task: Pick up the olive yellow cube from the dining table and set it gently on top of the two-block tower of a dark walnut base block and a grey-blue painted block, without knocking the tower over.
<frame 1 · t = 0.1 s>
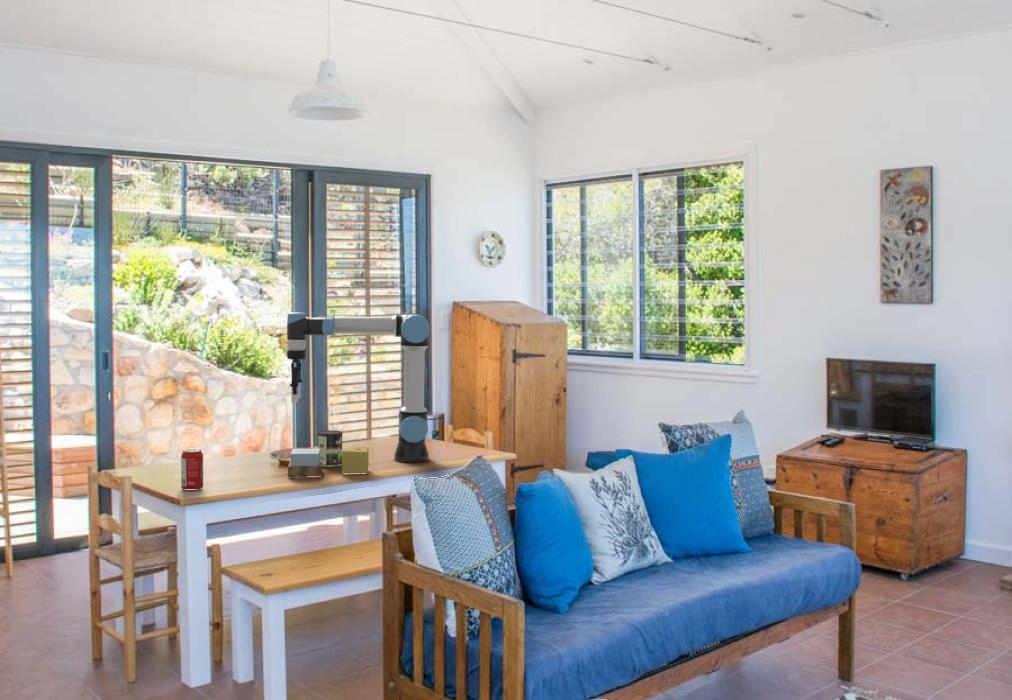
hand: (296, 400, 425), 28 cm above the table, tool pointing down, fingers open, 13 cm apart
tower base: (305, 475, 411), on the table, touching tower top
soda can: (192, 490, 380), on the table
tower top: (305, 463, 410), point 5 cm above the table, touching tower base
coffee can: (329, 465, 432), on the table
olive yellow cube: (355, 473, 416), on the table
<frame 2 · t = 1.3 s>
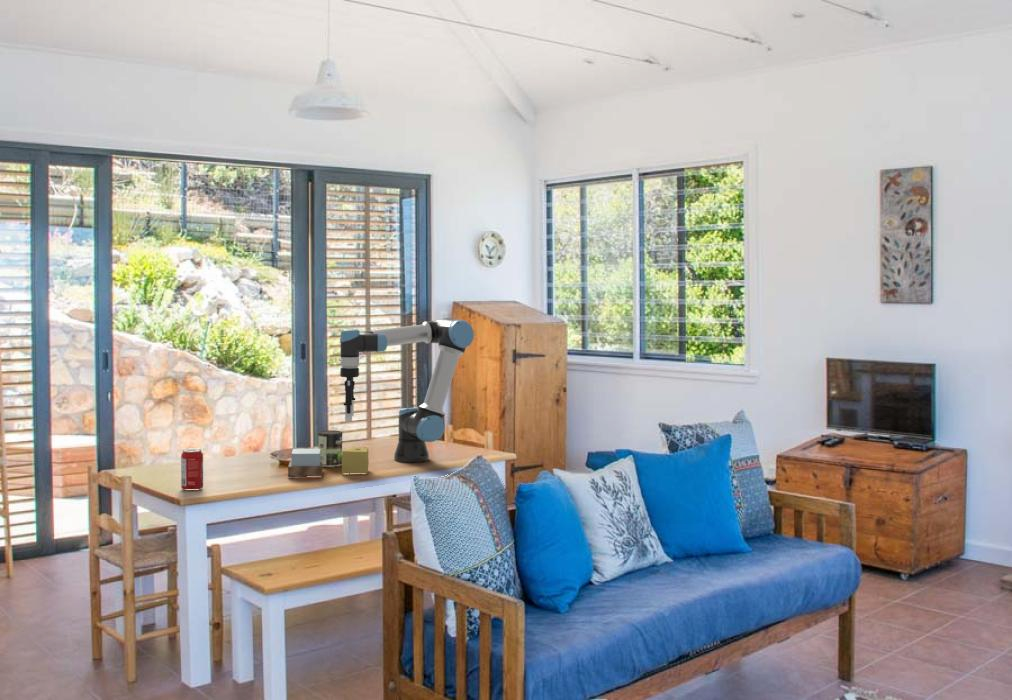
hand: (349, 418, 416), 22 cm above the table, tool pointing down, fingers open, 13 cm apart
nothing on the table moved.
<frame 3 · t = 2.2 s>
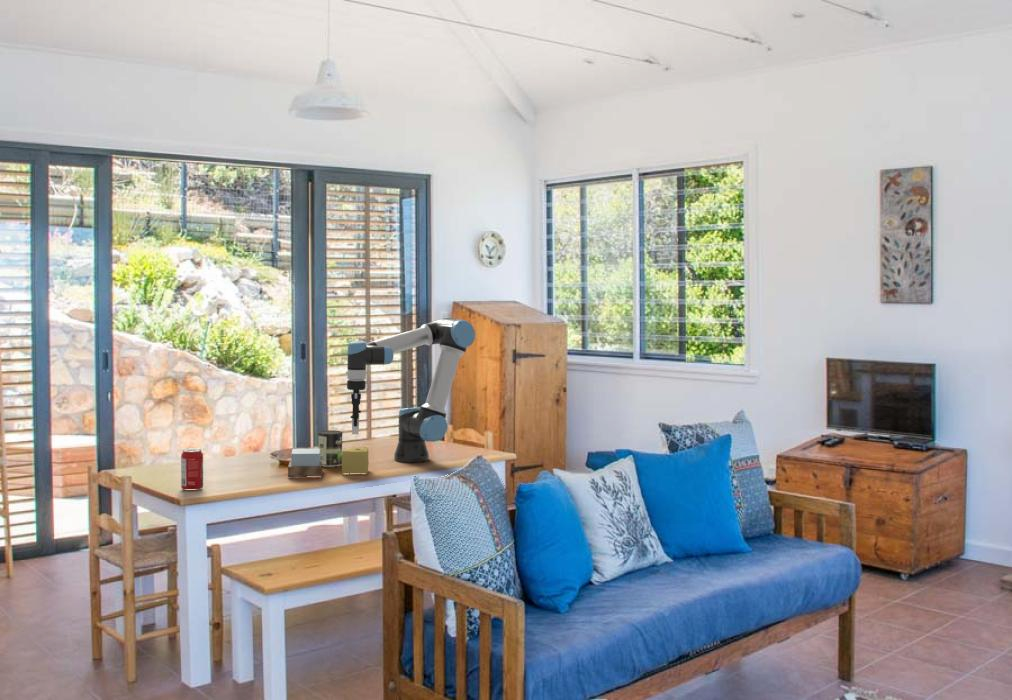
hand: (355, 431, 415), 17 cm above the table, tool pointing down, fingers open, 13 cm apart
tower base: (305, 475, 411), on the table
tower top: (305, 463, 411), point 5 cm above the table
everything else where it was.
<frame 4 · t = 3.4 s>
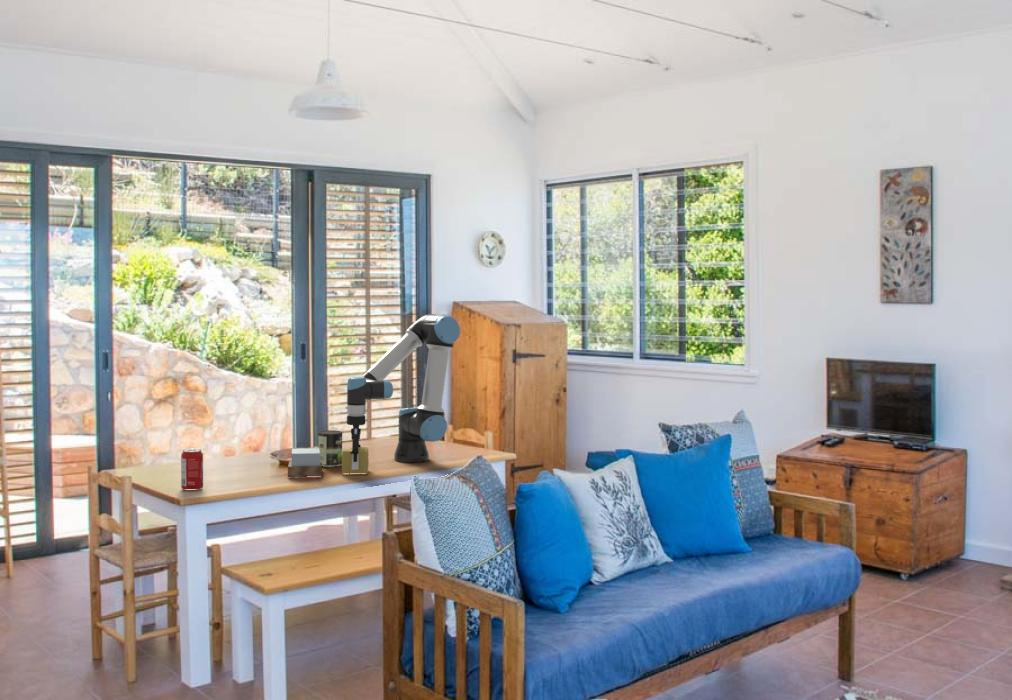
hand: (355, 466, 416), 3 cm above the table, tool pointing down, fingers open, 13 cm apart
nothing on the table moved.
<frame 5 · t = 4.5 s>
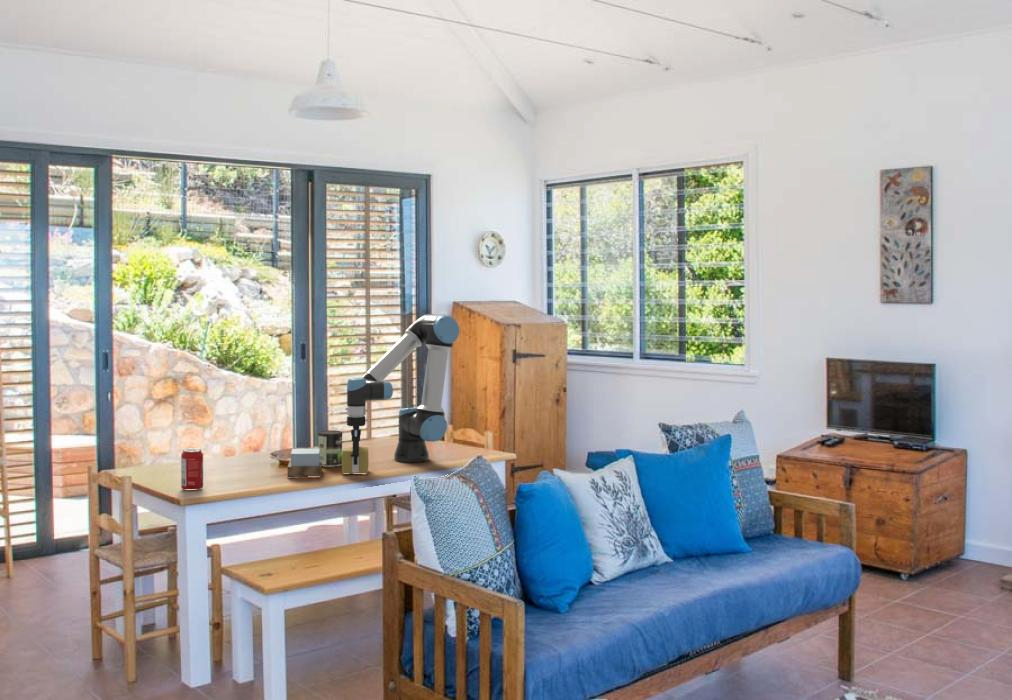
hand: (355, 469, 416), 1 cm above the table, tool pointing down, fingers closed on olive yellow cube, 10 cm apart
olive yellow cube: (355, 473, 416), on the table, touching gripper
everything else where it was.
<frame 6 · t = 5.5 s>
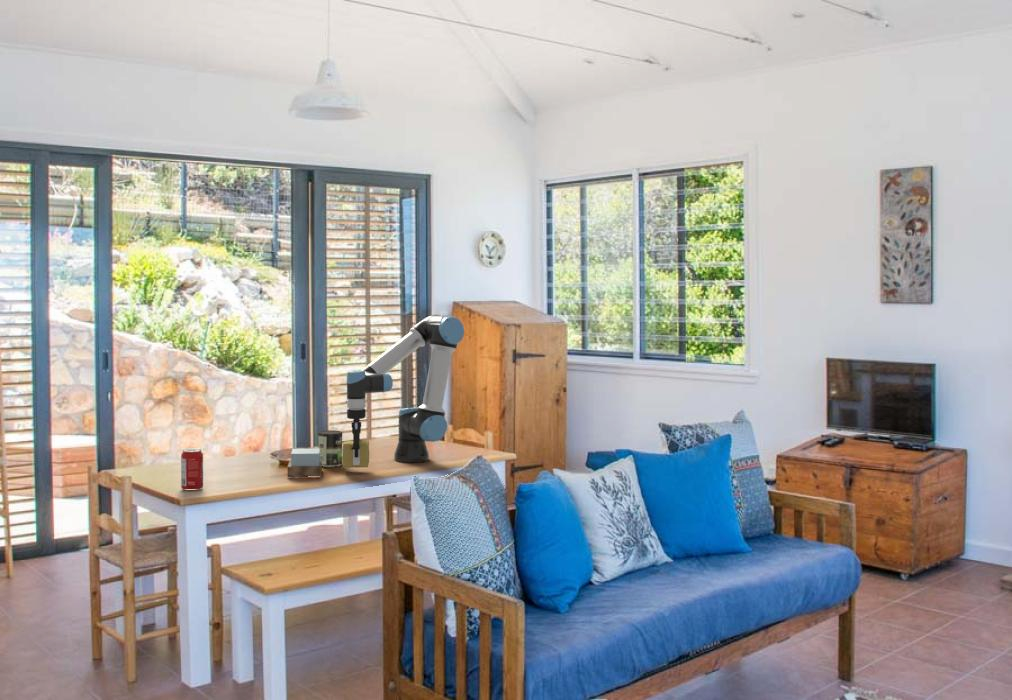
hand: (356, 462, 416), 4 cm above the table, tool pointing down, fingers closed on olive yellow cube, 10 cm apart
tower base: (304, 475, 411), on the table, touching tower top
tower top: (305, 463, 411), point 5 cm above the table, touching tower base
olive yellow cube: (356, 466, 416), point 3 cm above the table, touching gripper
everything else where it was.
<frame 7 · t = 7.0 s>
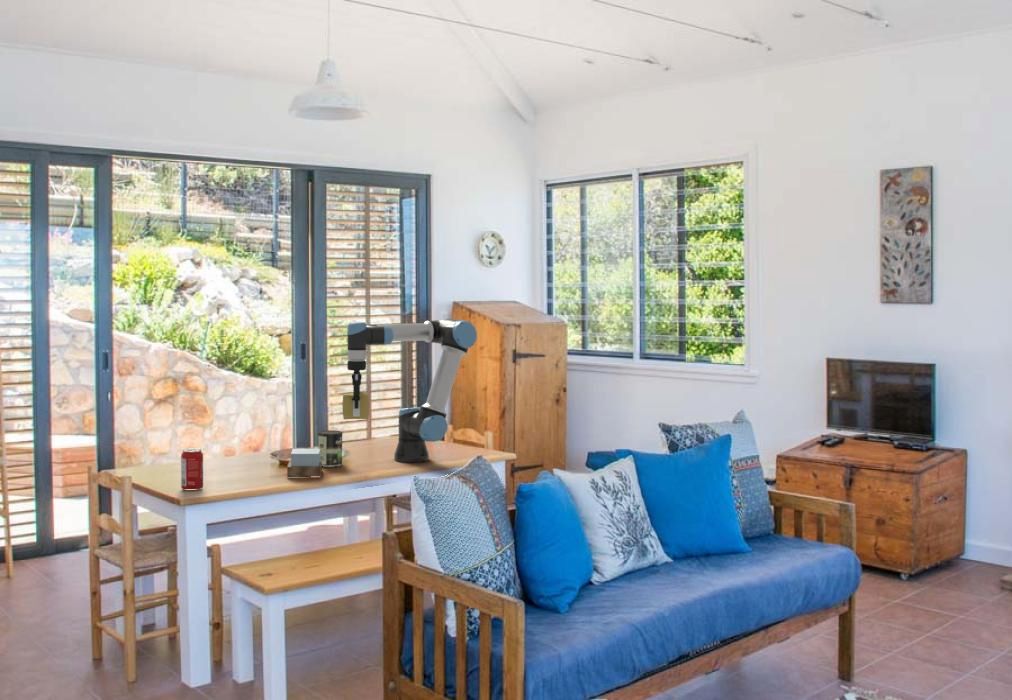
hand: (356, 414, 415), 24 cm above the table, tool pointing down, fingers closed on olive yellow cube, 10 cm apart
tower base: (304, 475, 411), on the table
tower top: (305, 463, 410), point 5 cm above the table
olive yellow cube: (356, 418, 415), point 23 cm above the table, touching gripper
everything else where it was.
when the fingers open (13 cm above the table, at t = 11.5 s): olive yellow cube drops 2 cm, resting on tower top.
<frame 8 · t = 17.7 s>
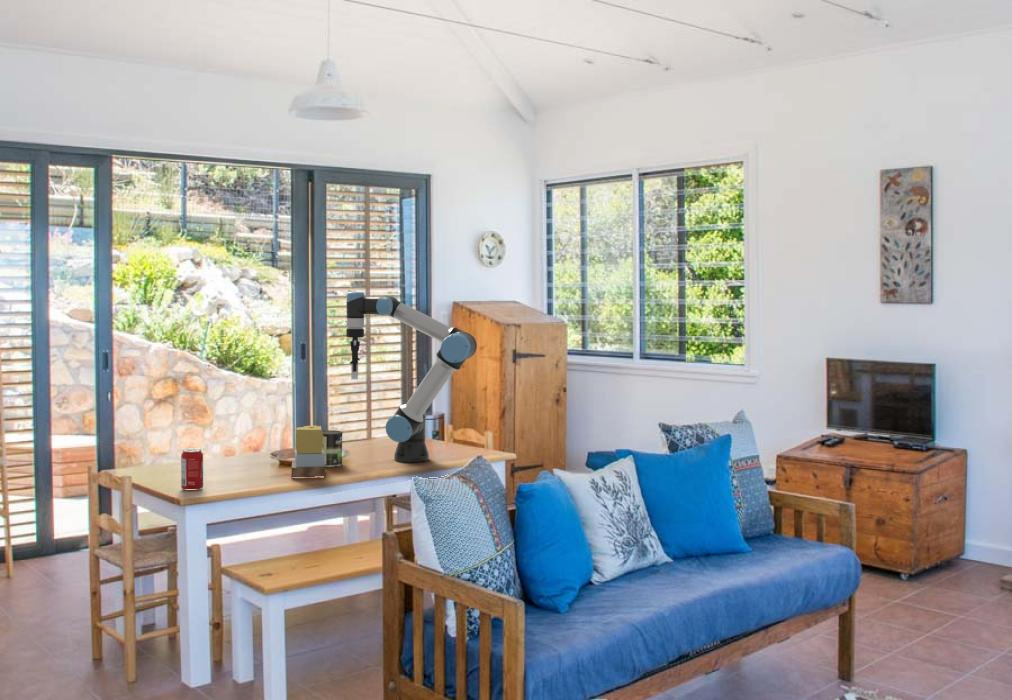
hand: (354, 377, 436), 37 cm above the table, tool pointing down, fingers open, 13 cm apart
tower base: (308, 476, 410), on the table, touching tower top
tower top: (309, 464, 410), point 4 cm above the table, touching olive yellow cube, tower base
olive yellow cube: (309, 452, 409), point 9 cm above the table, touching tower top
everything else where it was.
at the end: olive yellow cube inside the target area on the tower top (0.1 cm from its centre), point 4.8 cm above the tower top's base; tower top 0.5 cm off-centre on the tower base, point 5.0 cm above the tower base's base; tower base moved 1.7 cm from its start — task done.
